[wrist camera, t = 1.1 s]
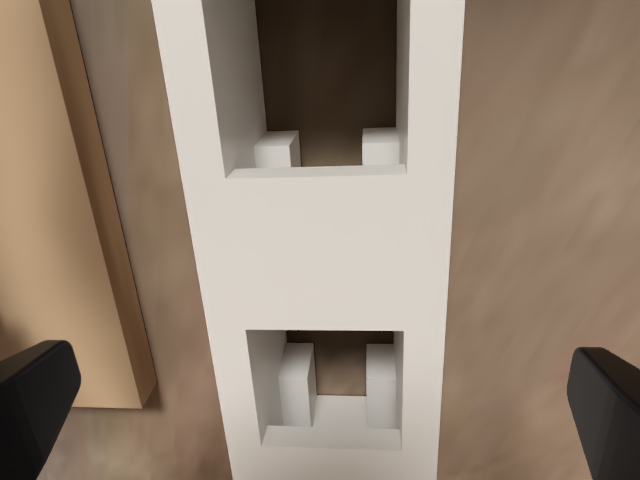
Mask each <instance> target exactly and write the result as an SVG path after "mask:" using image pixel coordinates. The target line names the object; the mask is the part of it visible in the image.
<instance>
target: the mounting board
mask: <svg viewBox="0 0 640 480" xmlns="http://www.w3.org/2000/svg"><path fill="white" fill-rule="evenodd" d="M45 340H66V341H68V342H70V344H71V345H72V347H73V350H74V353H75V357H76V360H77V363H78V366H79V370H80V373H81V386H80V389H79V391H78V394H77V396H76V398H75V400H74V402H73V405H72V407H101V408H140V409H142V408H143V406H144V404H145V402H146V401H147V399H148V397H149V396H150V394H151V392H152V390H153V389H154V387H155V385H156V383H157V379H156V374H155V370H154V366H153V361H152V357H151V353H150V348H149V344H148V340H147V335H146V331H145V327H144V322H143V318H142V314H141V309H140V305H139V301H138V296H137V292H136V288H135V283H134V279H133V275H132V270H131V266H130V262H129V257H128V253H127V249H126V244H125V240H124V236H123V231H122V227H121V223H120V218H119V214H118V210H117V205H116V201H115V197H114V192H113V188H112V184H111V179H110V175H109V171H108V167H107V162H106V158H105V154H104V149H103V145H102V141H101V136H100V132H99V128H98V123H97V119H96V115H95V110H94V106H93V102H92V97H91V93H90V89H89V84H88V80H87V76H86V71H85V67H84V63H83V58H82V54H81V50H80V45H79V41H78V37H77V32H76V28H75V24H74V19H73V15H72V11H71V6H70V2H69V0H0V361H2V360H4V359H6V358H8V357H10V356H12V355H14V354H16V353H19V352H21V351H23V350H25V349H27V348H29V347H31V346H33V345H36V344H38V343H40V342H42V341H45Z"/></svg>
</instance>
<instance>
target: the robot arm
mask: <svg viewBox="0 0 640 480" xmlns="http://www.w3.org/2000/svg"><path fill="white" fill-rule="evenodd" d="M80 386H81V373H80V370H79V366H78V363H77V360H76V357H75V353H74V350H73V347H72V345H71V344H70V342H68V341H66V340H45V341H42V342H40V343H38V344H36V345H33V346H31V347H29V348H27V349H25V350H23V351H21V352H19V353H16V354H14V355H12V356H10V357H8V358H6V359H4V360H2V361H0V480H36V479H37V477H38V476H39V474H40V472H41V470H42V468H43V466H44V465H45V463H46V461H47V459H48V457H49V455H50V453H51V451H52V448H53V446H54V444H55V442H56V440H57V437H58V435H59V433H60V431H61V429H62V426H63V424H64V422H65V420H66V418H67V416H68V413H69V411H70V409H71V407H72V405H73V402H74V400H75V398H76V396H77V394H78V391H79V389H80ZM567 396H568V401H569V405H570V408H571V411H572V414H573V418H574V421H575V424H576V427H577V431H578V434H579V437H580V440H581V444H582V447H583V450H584V453H585V457H586V460H587V463H588V466H589V470H590V473H591V476H592V479H593V480H640V369H638V368H637V367H635V366H633V365H632V364H630V363H628V362H626V361H625V360H623V359H621V358H620V357H618V356H616V355H615V354H613V353H611V352H610V351H608V350H606V349H604V348H601V347H579V348H577V349H576V350H575V351H574V353H573V357H572V362H571V368H570V373H569V378H568V384H567Z"/></svg>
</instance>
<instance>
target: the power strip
mask: <svg viewBox="0 0 640 480" xmlns="http://www.w3.org/2000/svg"><path fill="white" fill-rule="evenodd" d="M151 2H152V8H153V13H154V19H155V25H156V31H157V37H158V43H159V49H160V54H161V60H162V66H163V72H164V78H165V84H166V90H167V96H168V101H169V107H170V113H171V119H172V125H173V131H174V137H175V142H176V148H177V154H178V160H179V166H180V172H181V178H182V183H183V189H184V195H185V201H186V207H187V213H188V219H189V225H190V230H191V236H192V242H193V248H194V254H195V260H196V266H197V271H198V277H199V283H200V289H201V295H202V301H203V307H204V312H205V318H206V324H207V330H208V336H209V342H210V348H211V354H212V359H213V365H214V371H215V377H216V383H217V389H218V395H219V400H220V406H221V412H222V418H223V424H224V430H225V436H226V441H227V447H228V453H229V459H230V465H231V471H232V477H233V480H436V478H437V461H438V444H439V428H440V411H441V394H442V378H443V361H444V344H445V328H446V311H447V294H448V278H449V261H450V244H451V228H452V211H453V194H454V178H455V161H456V144H457V128H458V111H459V94H460V78H461V61H462V44H463V28H464V11H465V0H397V62H396V127H386V128H363V137H362V164H363V166H324V167H301V158H300V143H299V130H296V131H267V125H266V115H265V104H264V94H263V83H262V73H261V62H260V51H259V41H258V30H257V20H256V9H255V0H151ZM286 330H351V331H394V344H367V352H366V392H367V396H329V395H317V390H316V375H315V361H314V346H313V343H287V337H286Z"/></svg>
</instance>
